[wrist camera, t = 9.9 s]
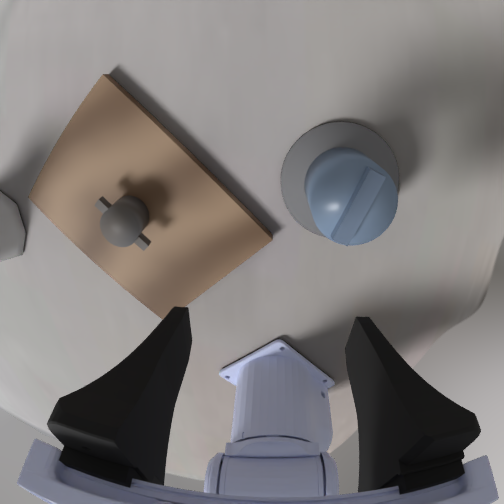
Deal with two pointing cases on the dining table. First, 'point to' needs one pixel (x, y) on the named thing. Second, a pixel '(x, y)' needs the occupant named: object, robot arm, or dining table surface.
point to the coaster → (315, 145)
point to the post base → (143, 203)
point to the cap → (350, 196)
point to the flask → (10, 229)
